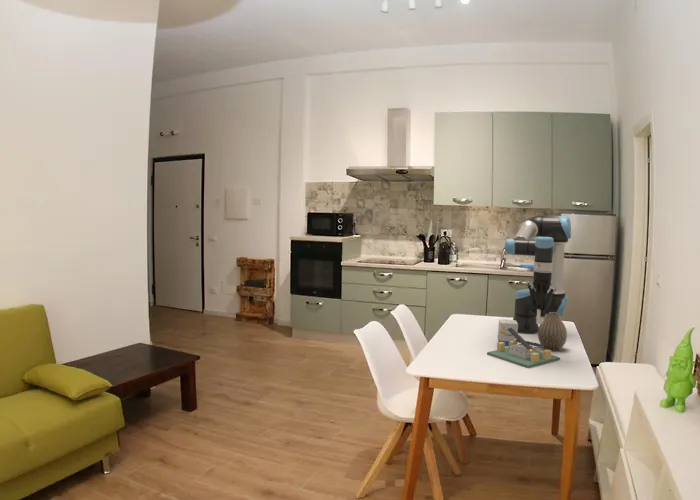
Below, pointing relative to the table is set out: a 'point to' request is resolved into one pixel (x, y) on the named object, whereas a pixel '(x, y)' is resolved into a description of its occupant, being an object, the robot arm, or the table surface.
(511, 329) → the strap
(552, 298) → the robot arm
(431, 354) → the table surface
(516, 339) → the strap
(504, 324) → the ink box
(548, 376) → the table surface
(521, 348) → the board
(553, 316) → the vase
